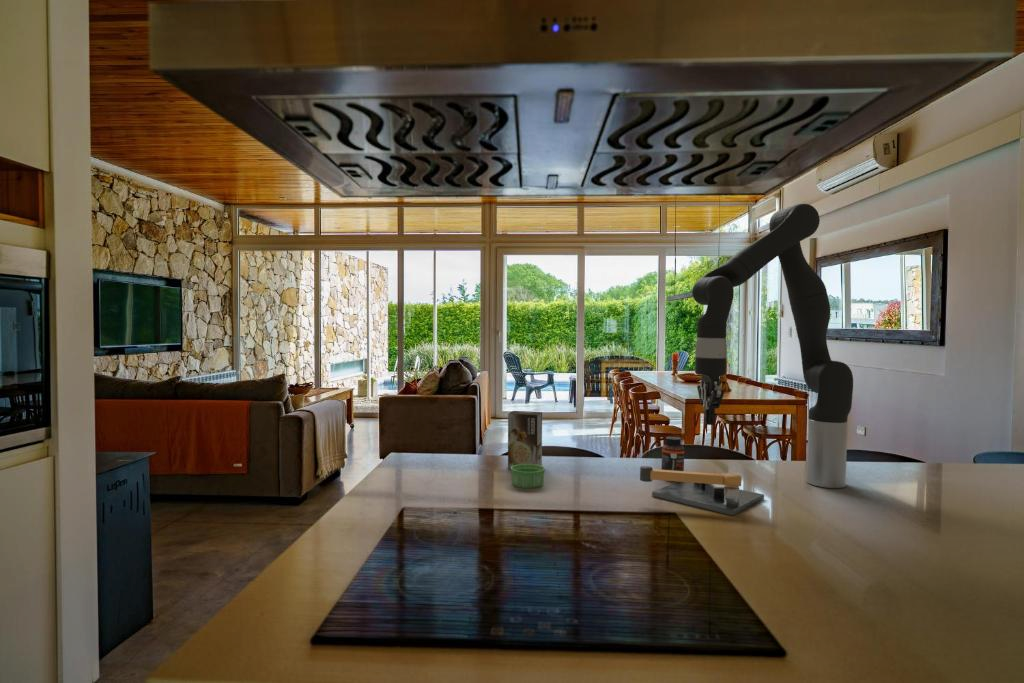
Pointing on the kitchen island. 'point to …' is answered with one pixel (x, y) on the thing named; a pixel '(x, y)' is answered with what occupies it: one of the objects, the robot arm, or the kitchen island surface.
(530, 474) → the ramekin
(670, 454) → the supplement bottle
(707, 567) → the kitchen island surface
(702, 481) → the light wooden bar
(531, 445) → the coffee box
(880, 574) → the kitchen island surface
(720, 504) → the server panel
